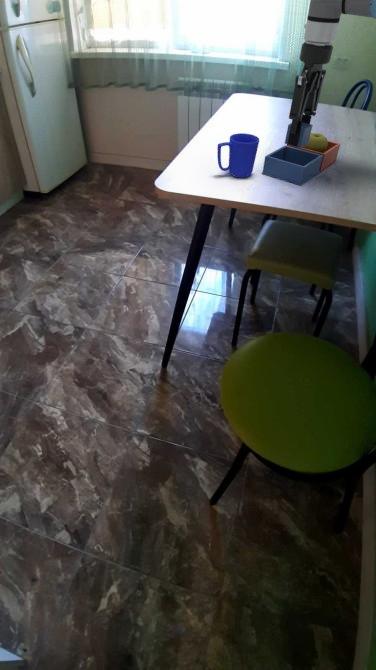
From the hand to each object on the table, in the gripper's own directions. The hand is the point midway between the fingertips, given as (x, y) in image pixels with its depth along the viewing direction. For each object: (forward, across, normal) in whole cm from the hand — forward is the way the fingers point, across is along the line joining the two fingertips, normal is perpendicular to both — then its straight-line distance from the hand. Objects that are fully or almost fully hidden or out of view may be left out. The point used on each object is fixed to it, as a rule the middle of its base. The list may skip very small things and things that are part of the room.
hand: (296, 142), depth 116 cm
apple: (+8, -14, 0) cm, 16 cm away
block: (0, 0, 0) cm, 0 cm away
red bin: (+9, -14, 0) cm, 16 cm away
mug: (+9, +12, -12) cm, 19 cm away
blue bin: (+9, 0, 0) cm, 9 cm away
